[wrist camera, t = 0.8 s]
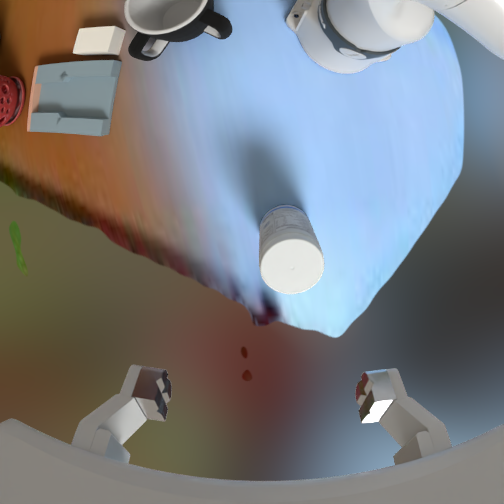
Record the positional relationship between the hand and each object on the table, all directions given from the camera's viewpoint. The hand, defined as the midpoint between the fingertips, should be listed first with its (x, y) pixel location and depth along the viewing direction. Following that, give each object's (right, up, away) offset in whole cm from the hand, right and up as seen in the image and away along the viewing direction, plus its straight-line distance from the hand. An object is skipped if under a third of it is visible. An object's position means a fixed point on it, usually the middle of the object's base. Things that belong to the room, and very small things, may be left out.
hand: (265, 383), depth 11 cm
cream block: (-28, +44, +25) cm, 57 cm away
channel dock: (-35, +35, +30) cm, 58 cm away
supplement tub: (+6, +10, +43) cm, 44 cm away
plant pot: (-54, +40, +28) cm, 73 cm away
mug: (-12, +45, +24) cm, 52 cm away
